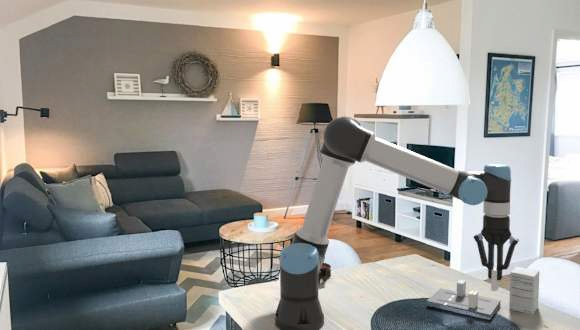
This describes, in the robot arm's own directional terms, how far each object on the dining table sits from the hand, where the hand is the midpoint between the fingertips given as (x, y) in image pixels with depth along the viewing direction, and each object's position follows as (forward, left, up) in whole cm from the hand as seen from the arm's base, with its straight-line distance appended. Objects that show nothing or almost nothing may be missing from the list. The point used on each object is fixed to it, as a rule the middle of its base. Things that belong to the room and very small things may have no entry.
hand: (494, 289), depth 150 cm
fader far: (+8, +12, -7) cm, 16 cm away
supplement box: (+13, -6, -9) cm, 17 cm away
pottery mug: (-1, +63, -10) cm, 64 cm away
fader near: (0, +6, -7) cm, 9 cm away
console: (+4, +10, -9) cm, 14 cm away
